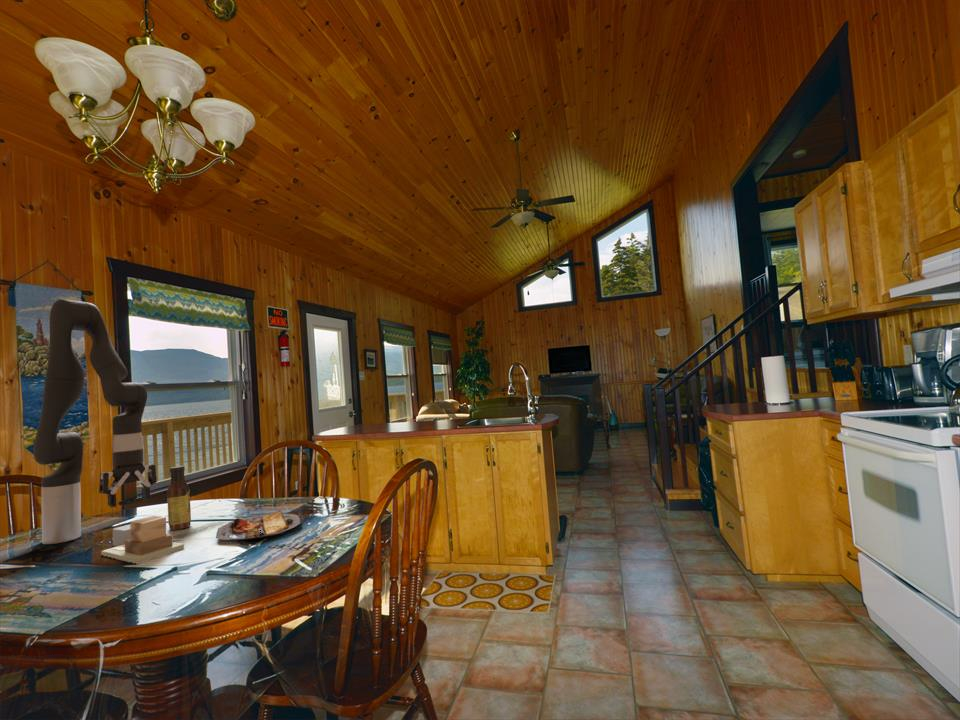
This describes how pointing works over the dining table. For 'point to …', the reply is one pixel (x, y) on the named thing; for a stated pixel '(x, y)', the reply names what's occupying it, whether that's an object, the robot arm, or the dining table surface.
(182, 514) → the sauce bottle
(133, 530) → the oak brick
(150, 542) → the base brick
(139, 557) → the build board
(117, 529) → the grey brick
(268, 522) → the food plate
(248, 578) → the dining table surface
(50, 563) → the dining table surface
